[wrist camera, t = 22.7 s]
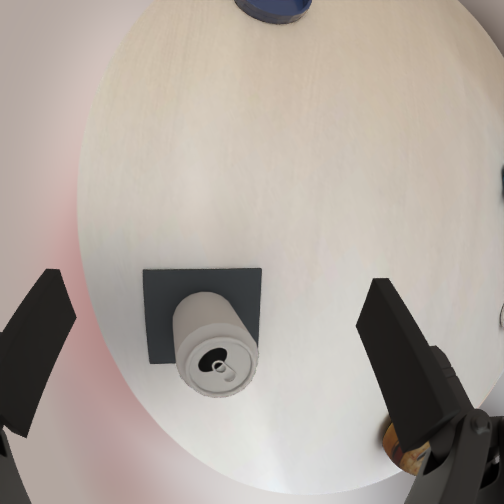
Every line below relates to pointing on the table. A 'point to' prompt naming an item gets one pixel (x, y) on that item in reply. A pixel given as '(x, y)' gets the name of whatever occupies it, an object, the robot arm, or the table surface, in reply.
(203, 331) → the can
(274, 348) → the table surface
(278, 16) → the dish
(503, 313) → the ramekin
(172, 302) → the mat
